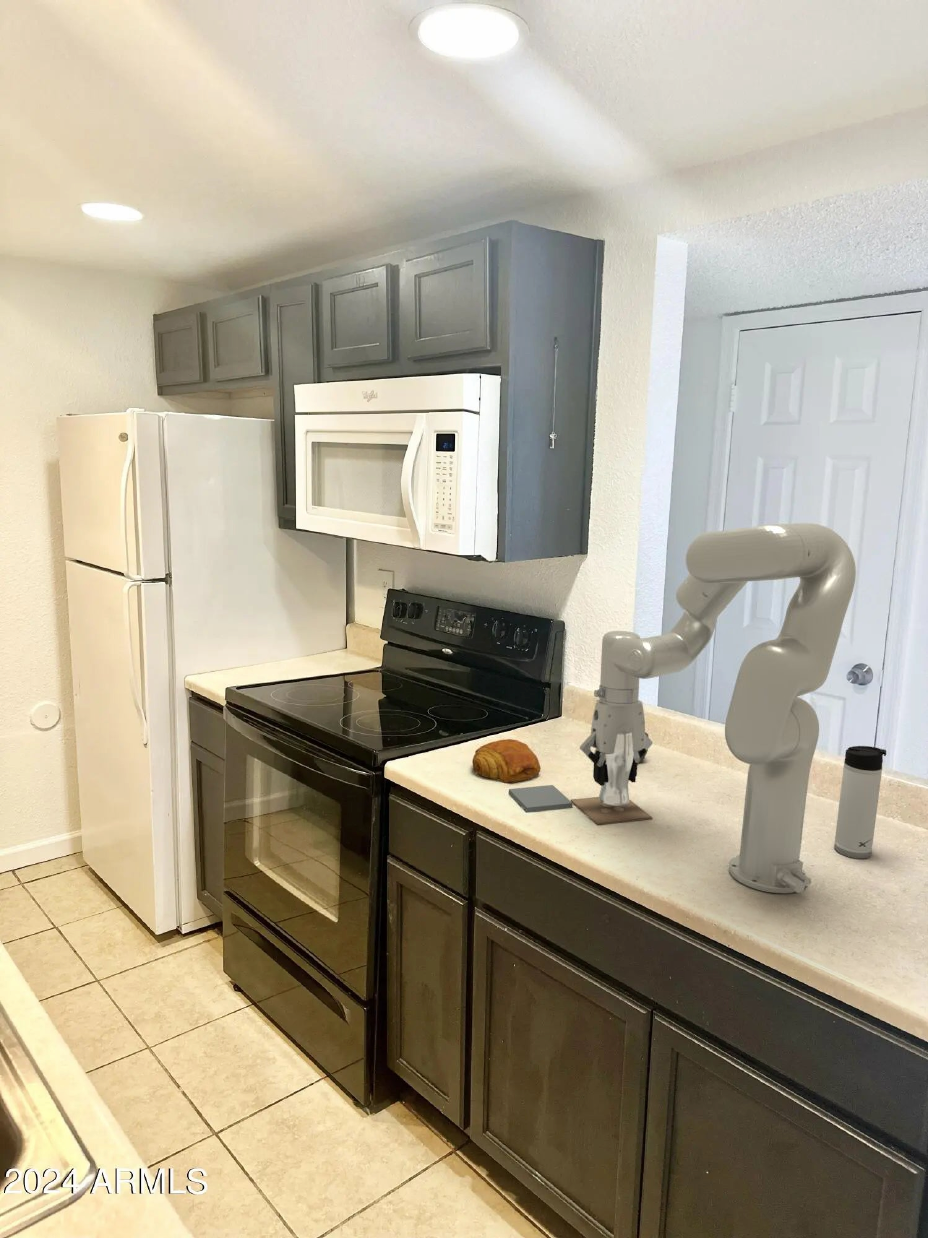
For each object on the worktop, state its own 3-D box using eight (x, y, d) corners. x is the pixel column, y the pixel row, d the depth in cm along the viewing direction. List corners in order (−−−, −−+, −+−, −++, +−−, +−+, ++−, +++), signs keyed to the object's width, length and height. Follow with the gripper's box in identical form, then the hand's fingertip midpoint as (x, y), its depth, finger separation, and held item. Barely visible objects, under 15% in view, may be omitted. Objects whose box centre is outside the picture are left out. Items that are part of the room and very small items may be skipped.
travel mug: (871, 863, 149) (884, 756, 146) (831, 853, 153) (843, 748, 149) (875, 850, 155) (888, 746, 151) (836, 841, 158) (848, 739, 154)
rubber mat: (572, 807, 170) (572, 803, 169) (526, 812, 166) (527, 807, 166) (552, 789, 179) (552, 784, 179) (508, 793, 176) (508, 789, 176)
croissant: (463, 776, 191) (459, 743, 190) (520, 757, 199) (517, 725, 197) (496, 796, 179) (492, 761, 177) (556, 776, 186) (553, 742, 184)
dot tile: (652, 819, 165) (652, 817, 165) (597, 825, 161) (597, 823, 161) (622, 796, 176) (622, 794, 176) (570, 801, 173) (570, 799, 173)
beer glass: (631, 809, 164) (635, 735, 162) (595, 805, 165) (599, 732, 163) (631, 796, 171) (635, 725, 168) (597, 793, 172) (600, 722, 170)
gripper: (587, 702, 158) (583, 792, 161) (667, 696, 164) (662, 784, 167) (570, 692, 165) (567, 779, 168) (648, 687, 171) (643, 771, 174)
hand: (614, 781), depth 167 cm, fingers closed on beer glass, 6 cm apart
